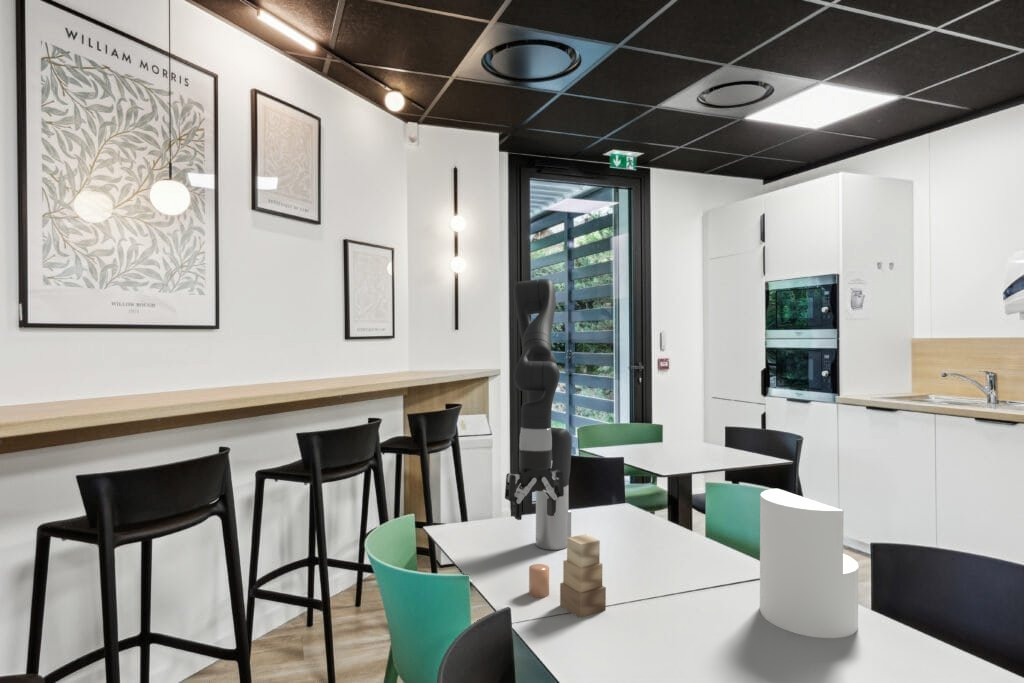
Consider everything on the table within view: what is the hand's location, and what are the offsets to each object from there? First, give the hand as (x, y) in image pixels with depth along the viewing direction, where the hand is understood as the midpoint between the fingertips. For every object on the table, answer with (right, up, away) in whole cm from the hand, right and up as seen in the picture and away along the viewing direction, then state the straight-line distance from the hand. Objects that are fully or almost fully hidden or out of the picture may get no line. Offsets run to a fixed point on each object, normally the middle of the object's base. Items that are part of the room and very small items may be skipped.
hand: (534, 517), depth 144 cm
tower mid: (+10, -12, -9) cm, 18 cm away
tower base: (+10, -17, -9) cm, 22 cm away
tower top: (+10, -7, -9) cm, 15 cm away
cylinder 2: (+57, -18, -13) cm, 61 cm away
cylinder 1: (+1, -17, -1) cm, 17 cm away
